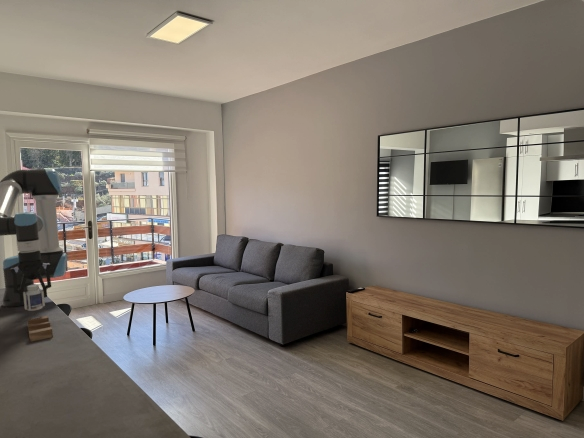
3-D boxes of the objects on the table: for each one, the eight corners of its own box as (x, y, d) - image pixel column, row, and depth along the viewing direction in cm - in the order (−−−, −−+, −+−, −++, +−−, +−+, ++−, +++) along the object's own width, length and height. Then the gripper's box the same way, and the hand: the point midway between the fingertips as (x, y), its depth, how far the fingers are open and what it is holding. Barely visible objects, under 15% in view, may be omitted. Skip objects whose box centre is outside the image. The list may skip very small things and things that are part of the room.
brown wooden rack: (28, 327, 160) (27, 319, 160) (48, 323, 164) (47, 315, 164) (30, 341, 143) (29, 333, 143) (52, 337, 147) (52, 329, 147)
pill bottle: (45, 306, 168) (43, 283, 166) (36, 311, 162) (34, 287, 161) (33, 306, 168) (31, 283, 167) (24, 311, 163) (21, 287, 162)
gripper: (0, 255, 154) (7, 314, 157) (56, 249, 165) (61, 304, 167) (1, 252, 160) (7, 309, 163) (54, 246, 171) (59, 300, 173)
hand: (34, 306), depth 165 cm, fingers closed on pill bottle, 5 cm apart
